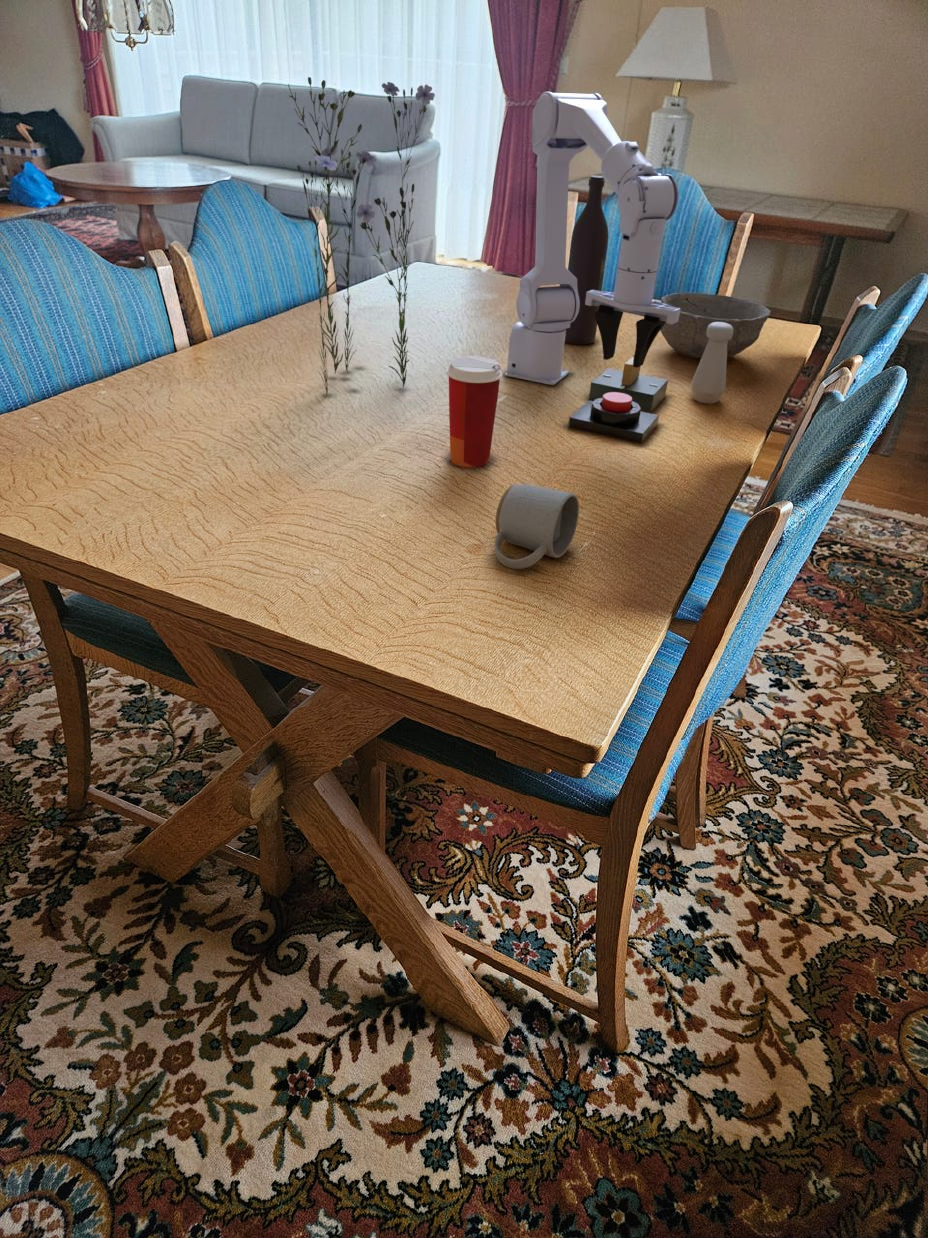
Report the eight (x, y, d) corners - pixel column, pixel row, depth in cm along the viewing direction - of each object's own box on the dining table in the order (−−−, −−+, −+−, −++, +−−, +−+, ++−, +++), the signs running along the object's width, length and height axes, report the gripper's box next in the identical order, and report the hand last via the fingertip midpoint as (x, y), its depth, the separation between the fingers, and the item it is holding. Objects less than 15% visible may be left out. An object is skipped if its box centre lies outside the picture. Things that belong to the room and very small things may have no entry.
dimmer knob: (629, 385, 145) (632, 363, 143) (621, 384, 145) (624, 361, 143) (638, 376, 149) (642, 354, 147) (631, 375, 149) (634, 353, 147)
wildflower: (278, 397, 141) (254, 73, 116) (329, 356, 159) (317, 68, 134) (410, 415, 137) (414, 84, 112) (446, 371, 156) (456, 78, 130)
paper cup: (502, 454, 126) (510, 359, 118) (486, 474, 120) (493, 376, 112) (452, 444, 128) (456, 351, 120) (434, 464, 122) (437, 367, 114)
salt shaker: (722, 407, 147) (740, 330, 140) (689, 403, 148) (704, 326, 141) (721, 395, 152) (738, 320, 145) (688, 392, 153) (703, 317, 145)
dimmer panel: (588, 399, 147) (590, 381, 145) (606, 383, 154) (608, 366, 152) (650, 413, 143) (653, 394, 141) (665, 395, 150) (669, 378, 149)
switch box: (568, 427, 136) (570, 406, 134) (587, 410, 143) (589, 389, 141) (641, 443, 132) (645, 422, 130) (657, 425, 139) (661, 404, 137)
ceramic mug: (517, 523, 108) (521, 468, 104) (576, 541, 105) (584, 485, 101) (476, 560, 101) (479, 502, 96) (539, 581, 98) (546, 521, 93)
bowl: (770, 354, 174) (783, 303, 168) (739, 380, 159) (752, 326, 153) (673, 334, 182) (682, 285, 177) (635, 357, 168) (644, 305, 162)
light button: (597, 409, 135) (599, 398, 134) (606, 400, 138) (608, 389, 137) (625, 415, 133) (627, 404, 132) (634, 406, 137) (636, 395, 136)
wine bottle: (596, 346, 173) (618, 180, 156) (561, 344, 172) (580, 178, 156) (592, 335, 178) (613, 174, 161) (558, 334, 178) (576, 172, 161)
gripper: (695, 272, 123) (677, 366, 131) (606, 255, 130) (594, 345, 138) (674, 280, 118) (657, 377, 126) (583, 262, 125) (572, 355, 133)
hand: (623, 361), depth 132 cm, fingers open, 4 cm apart
